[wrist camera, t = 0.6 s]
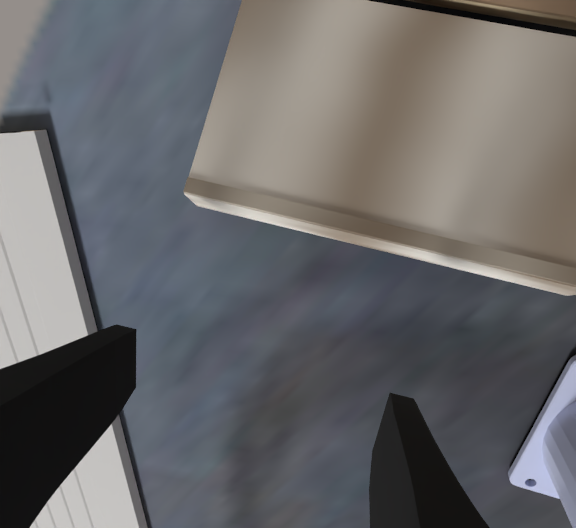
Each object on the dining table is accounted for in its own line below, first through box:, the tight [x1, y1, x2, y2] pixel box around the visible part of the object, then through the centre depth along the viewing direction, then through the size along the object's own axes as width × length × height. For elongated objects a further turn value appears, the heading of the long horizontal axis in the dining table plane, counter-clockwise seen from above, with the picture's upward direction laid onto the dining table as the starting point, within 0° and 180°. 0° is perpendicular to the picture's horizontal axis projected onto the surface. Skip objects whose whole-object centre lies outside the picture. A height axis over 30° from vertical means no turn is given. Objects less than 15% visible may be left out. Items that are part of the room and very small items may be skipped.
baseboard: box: [0, 130, 148, 528], centre depth 26 cm, size 31×3×12 cm
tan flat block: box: [184, 0, 576, 296], centre depth 14 cm, size 13×8×2 cm, turn 79°
